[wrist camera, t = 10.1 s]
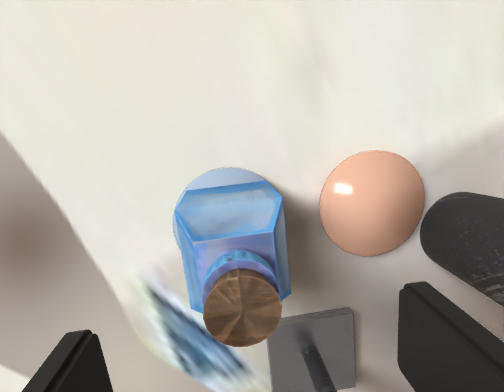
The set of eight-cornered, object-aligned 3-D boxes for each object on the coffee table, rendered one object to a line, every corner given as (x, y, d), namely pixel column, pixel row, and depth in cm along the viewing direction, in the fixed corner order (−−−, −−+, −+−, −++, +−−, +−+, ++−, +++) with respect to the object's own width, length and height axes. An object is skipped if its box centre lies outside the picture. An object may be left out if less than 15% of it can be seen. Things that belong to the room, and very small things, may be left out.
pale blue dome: (166, 173, 23) (163, 175, 22) (278, 160, 24) (281, 161, 23) (184, 276, 25) (182, 283, 24) (286, 261, 26) (289, 267, 25)
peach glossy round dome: (313, 156, 24) (318, 157, 23) (416, 144, 25) (426, 144, 24) (319, 256, 26) (324, 262, 25) (414, 243, 27) (423, 248, 26)
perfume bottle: (198, 264, 24) (177, 390, 12) (186, 190, 22) (150, 251, 11) (273, 253, 24) (322, 364, 13) (266, 180, 23) (313, 228, 11)
